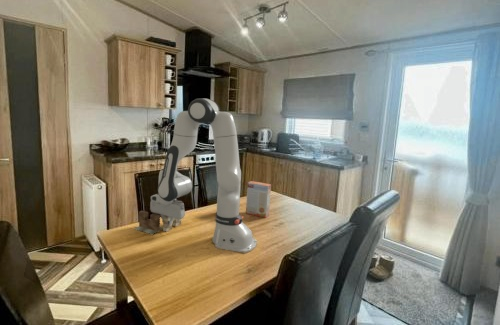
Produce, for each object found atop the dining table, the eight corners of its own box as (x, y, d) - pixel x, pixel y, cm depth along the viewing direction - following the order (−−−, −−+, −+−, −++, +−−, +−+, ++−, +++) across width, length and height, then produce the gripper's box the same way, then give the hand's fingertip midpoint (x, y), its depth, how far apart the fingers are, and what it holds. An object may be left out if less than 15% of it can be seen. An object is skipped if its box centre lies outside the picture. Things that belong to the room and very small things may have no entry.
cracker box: (269, 215, 173) (271, 183, 169) (265, 218, 167) (268, 186, 163) (249, 210, 178) (251, 180, 175) (245, 213, 173) (247, 182, 169)
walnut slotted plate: (163, 228, 144) (163, 213, 142) (152, 234, 137) (152, 218, 135) (146, 224, 149) (146, 208, 147) (135, 229, 141) (134, 213, 140)
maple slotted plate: (177, 223, 152) (177, 209, 151) (181, 223, 152) (181, 210, 150) (162, 230, 142) (163, 216, 140) (166, 231, 141) (166, 217, 139)
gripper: (187, 200, 139) (187, 225, 141) (156, 193, 146) (156, 217, 149) (179, 203, 133) (179, 229, 135) (148, 196, 141) (148, 221, 143)
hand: (167, 223), depth 142 cm, fingers closed on maple slotted plate, 2 cm apart
